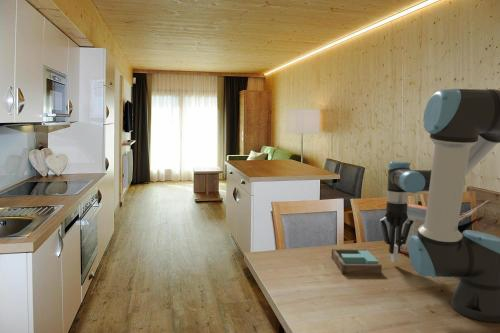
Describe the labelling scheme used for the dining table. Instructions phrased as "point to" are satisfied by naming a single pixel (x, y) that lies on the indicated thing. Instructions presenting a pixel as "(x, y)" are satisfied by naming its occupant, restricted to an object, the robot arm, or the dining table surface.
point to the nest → (354, 268)
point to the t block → (359, 258)
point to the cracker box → (418, 216)
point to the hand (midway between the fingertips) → (394, 261)
